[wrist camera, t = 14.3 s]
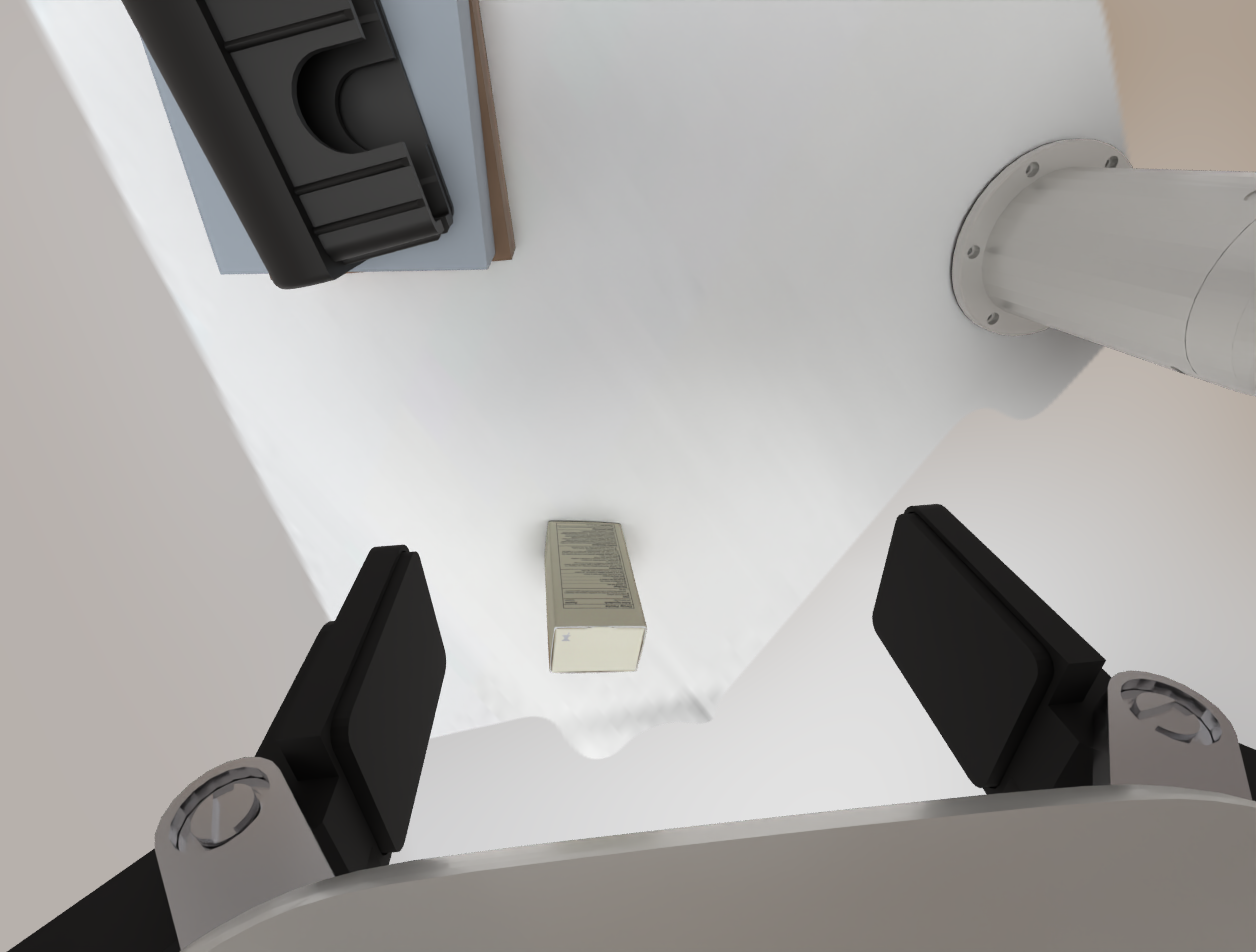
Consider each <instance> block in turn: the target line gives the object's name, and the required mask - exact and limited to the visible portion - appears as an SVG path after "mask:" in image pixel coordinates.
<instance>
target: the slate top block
mask: <svg viewBox="0 0 1256 952" xmlns="http://www.w3.org/2000/svg"><path fill="white" fill-rule="evenodd" d="M380 1H381V4H382V6H383V9H384V12H385V15H386V18H387V21H388V23H389V26H390V29H391V32H392V35H393V37H394V40H395V43H396V46H397V49H398V51H399V54H400V57H401V60H402V63H403V66H404V68H405V71H406V74H407V77H408V80H409V82H410V85H411V88H412V91H413V94H414V97H415V99H416V102H417V105H418V108H419V111H420V113H421V116H422V119H423V122H424V125H425V127H426V130H427V133H428V136H429V139H430V142H431V144H432V147H433V150H434V153H435V156H436V158H437V161H438V164H439V167H440V170H441V173H442V175H443V178H444V181H445V184H446V187H447V189H448V192H449V195H450V198H451V201H452V203H453V206H454V215H453V217H452V218H453V224H452V225H451V226H450V228H449V230H448V232H447V233H445V234H441V237H440V239H439V240H437V241H433V242H430V243H426V244H422V245H418V246H415V247H411V248H407V249H404V250H400V251H396V252H393V253H389V254H385V255H381V256H378V257H374V258H370V259H368V260H366V261H365V262H363V263H361V264H360V265H358V266H357V267H355V268H353V269H352V270H350V271H348V272H374V271H427V270H481V269H488V267H489V265H490V263H491V261H492V259H493V257H494V255H495V244H494V235H493V226H492V216H491V207H490V197H489V188H488V178H487V169H486V160H485V150H484V141H483V131H482V122H481V112H480V103H479V94H478V84H477V75H476V65H475V56H474V46H473V37H472V28H471V18H470V9H469V0H380ZM140 37H141V36H140ZM141 40H142V43H143V46H144V49H145V52H146V55H147V58H148V61H149V64H150V67H151V70H152V73H153V76H154V78H155V81H156V84H157V87H158V90H159V93H160V96H161V99H162V102H163V105H164V108H165V111H166V114H167V117H168V120H169V123H170V126H171V129H172V132H173V135H174V138H175V141H176V144H177V147H178V150H179V153H180V156H181V158H182V161H183V164H184V167H185V170H186V173H187V176H188V179H189V182H190V185H191V188H192V191H193V194H194V197H195V200H196V203H197V206H198V209H199V212H200V215H201V218H202V221H203V224H204V227H205V230H206V233H207V236H208V238H209V241H210V244H211V247H212V250H213V253H214V256H215V259H216V262H217V265H218V268H219V271H220V274H267V273H268V271H267V269H266V267H265V265H264V264H263V262H262V260H261V258H260V256H259V254H258V252H257V251H256V249H255V247H254V245H253V243H252V241H251V239H250V238H249V236H248V234H247V232H246V230H245V228H244V227H243V225H242V223H241V221H240V219H239V217H238V215H237V214H236V212H235V210H234V208H233V206H232V204H231V202H230V201H229V199H228V197H227V195H226V193H225V191H224V189H223V188H222V186H221V184H220V182H219V180H218V178H217V176H216V175H215V173H214V171H213V169H212V167H211V165H210V164H209V162H208V160H207V158H206V156H205V154H204V152H203V151H202V149H201V147H200V145H199V143H198V141H197V139H196V138H195V136H194V134H193V132H192V130H191V128H190V126H189V125H188V123H187V121H186V119H185V117H184V115H183V113H182V112H181V110H180V108H179V106H178V104H177V102H176V101H175V99H174V97H173V95H172V93H171V91H170V89H169V88H168V86H167V84H166V82H165V80H164V78H163V76H162V75H161V73H160V71H159V69H158V67H157V65H156V63H155V62H154V60H153V58H152V56H151V54H150V52H149V51H148V49H147V47H146V45H145V43H144V41H143V39H142V38H141Z"/></svg>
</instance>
